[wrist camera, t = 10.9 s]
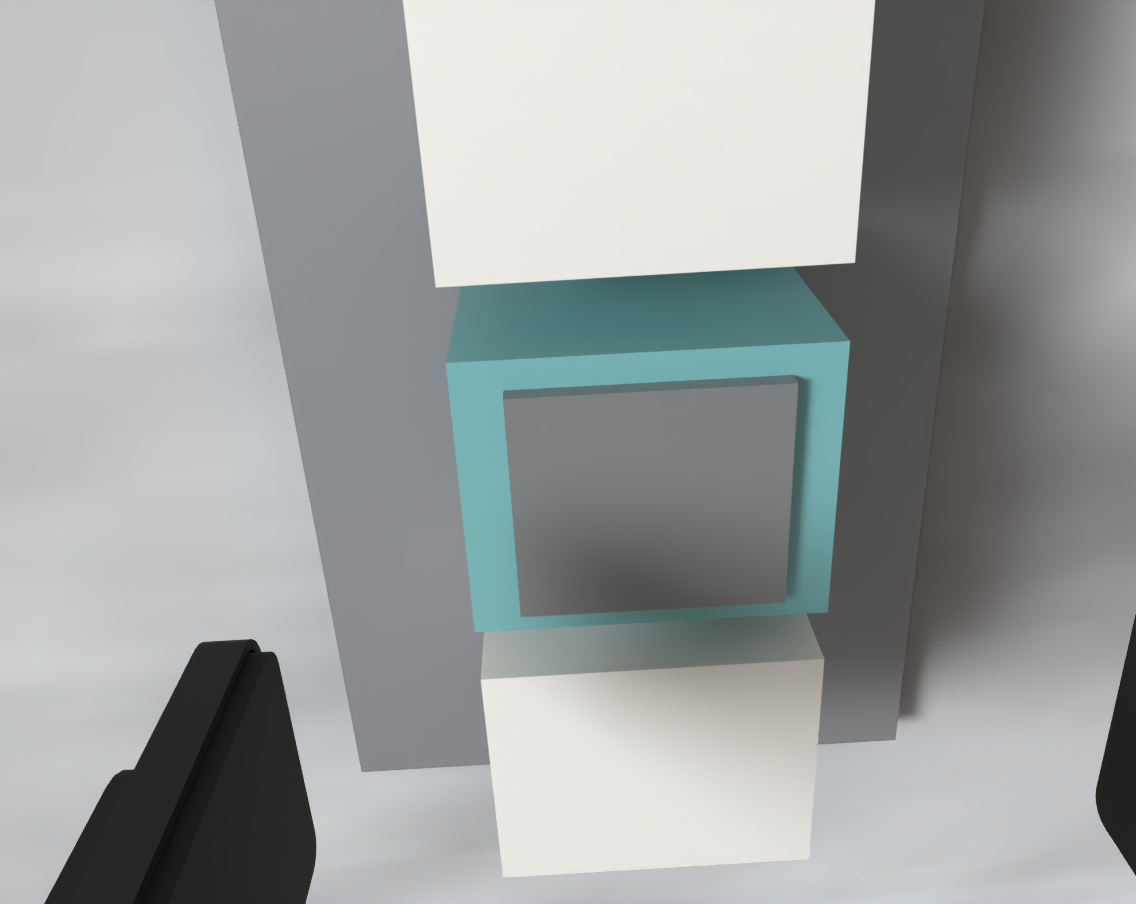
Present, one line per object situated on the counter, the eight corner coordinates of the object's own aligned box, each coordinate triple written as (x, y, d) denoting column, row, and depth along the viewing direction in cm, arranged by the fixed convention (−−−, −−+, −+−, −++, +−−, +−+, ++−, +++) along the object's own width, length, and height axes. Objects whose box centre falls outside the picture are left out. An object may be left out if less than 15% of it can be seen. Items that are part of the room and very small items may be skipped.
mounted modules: (790, -262, 16) (933, -370, 10) (755, 636, 24) (825, 858, 18) (425, -241, 16) (364, -337, 10) (510, 651, 24) (503, 877, 18)
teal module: (757, 220, 20) (856, 349, 14) (749, 431, 22) (833, 624, 16) (471, 236, 20) (443, 371, 14) (490, 445, 22) (473, 644, 16)
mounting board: (1006, -411, 17) (1038, -435, 16) (881, 708, 28) (895, 739, 27) (165, -363, 17) (141, -383, 16) (368, 740, 28) (361, 771, 27)
